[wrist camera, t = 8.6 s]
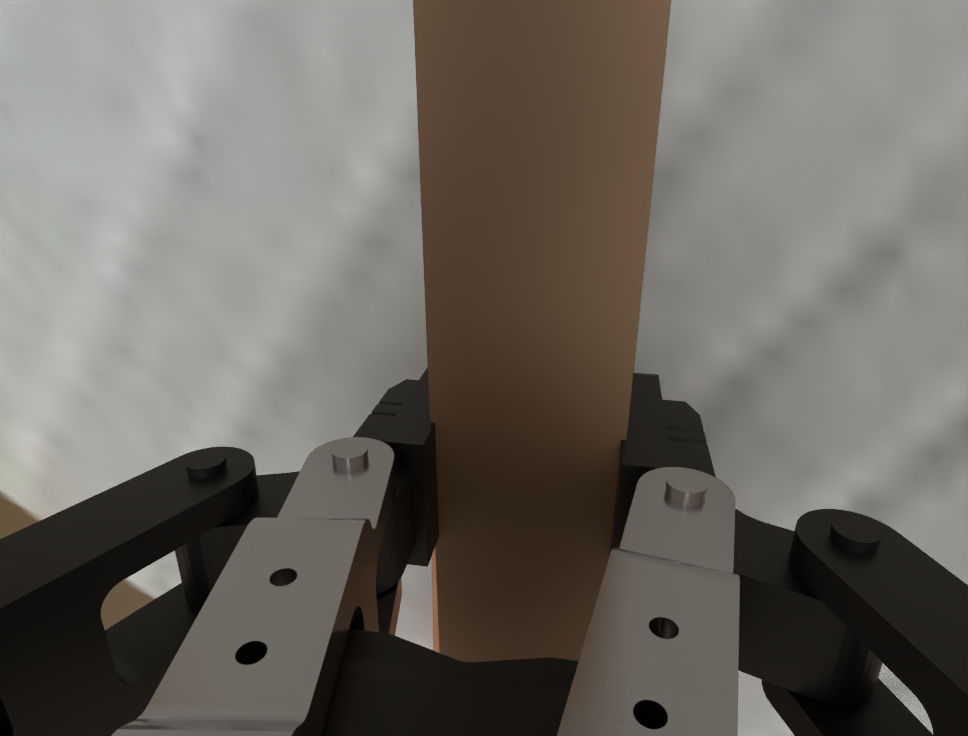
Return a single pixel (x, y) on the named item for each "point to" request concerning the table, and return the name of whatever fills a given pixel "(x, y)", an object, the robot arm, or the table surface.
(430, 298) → the wooden post on base
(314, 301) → the table surface
